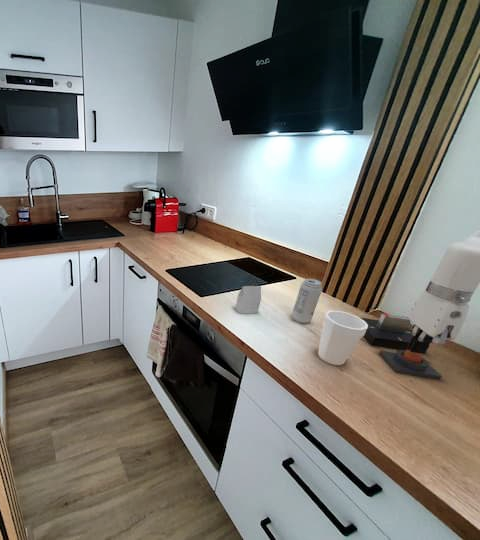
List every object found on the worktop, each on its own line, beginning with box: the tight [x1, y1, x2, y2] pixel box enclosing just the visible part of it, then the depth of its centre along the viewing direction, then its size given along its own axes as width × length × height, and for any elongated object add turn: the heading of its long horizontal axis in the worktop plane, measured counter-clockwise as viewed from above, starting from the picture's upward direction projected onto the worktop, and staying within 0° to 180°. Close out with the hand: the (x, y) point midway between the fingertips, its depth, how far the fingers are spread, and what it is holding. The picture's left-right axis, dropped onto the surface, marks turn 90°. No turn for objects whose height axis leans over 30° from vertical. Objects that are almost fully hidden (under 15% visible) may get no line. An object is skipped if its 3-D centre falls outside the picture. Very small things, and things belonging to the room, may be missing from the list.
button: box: [403, 350, 424, 363], centre depth 79 cm, size 4×4×2 cm
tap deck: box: [360, 317, 430, 354], centre depth 92 cm, size 14×12×3 cm
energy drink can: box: [291, 278, 323, 325], centre depth 98 cm, size 6×6×15 cm
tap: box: [376, 313, 411, 333], centre depth 90 cm, size 7×2×5 cm, turn 76°
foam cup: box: [317, 310, 368, 366], centre depth 80 cm, size 10×9×13 cm
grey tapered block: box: [235, 285, 262, 314], centre depth 103 cm, size 4×7×10 cm, turn 95°
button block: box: [378, 349, 442, 381], centre depth 80 cm, size 10×8×3 cm
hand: (415, 350), depth 78 cm, fingers closed
